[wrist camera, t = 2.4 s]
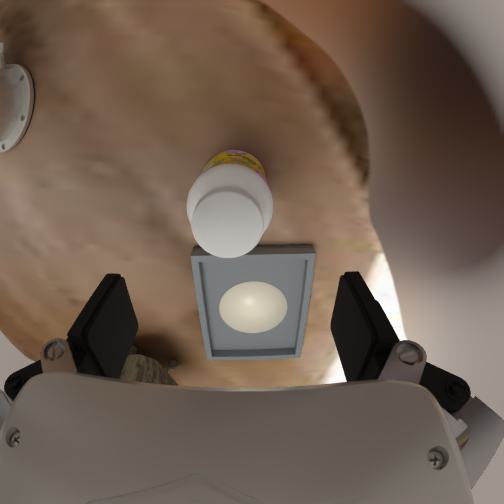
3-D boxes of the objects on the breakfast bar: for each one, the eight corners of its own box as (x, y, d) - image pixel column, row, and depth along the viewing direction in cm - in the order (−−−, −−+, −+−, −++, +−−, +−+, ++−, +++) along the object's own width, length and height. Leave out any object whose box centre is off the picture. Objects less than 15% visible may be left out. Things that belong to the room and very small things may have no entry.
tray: (193, 246, 33) (190, 255, 31) (311, 244, 33) (315, 253, 31) (208, 349, 41) (207, 360, 40) (297, 346, 42) (300, 357, 40)
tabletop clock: (123, 373, 45) (91, 489, 23) (95, 340, 41) (47, 466, 19) (189, 364, 43) (172, 506, 22) (163, 328, 39) (126, 489, 17)
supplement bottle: (278, 176, 29) (301, 224, 18) (236, 219, 31) (233, 287, 20) (230, 135, 27) (221, 154, 16) (190, 182, 29) (157, 232, 18)
